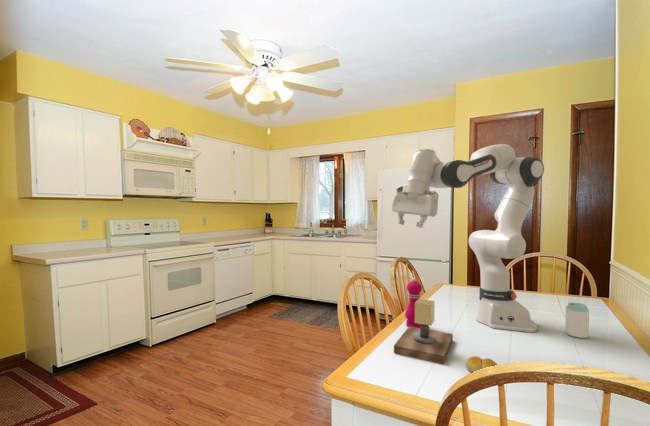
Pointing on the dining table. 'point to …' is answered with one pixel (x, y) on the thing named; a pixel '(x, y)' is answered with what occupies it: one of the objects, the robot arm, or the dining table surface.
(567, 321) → the can
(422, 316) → the wooden cube block
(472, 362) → the bread roll
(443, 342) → the walnut board
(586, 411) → the dining table surface
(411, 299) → the pepper mill
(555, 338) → the dining table surface
